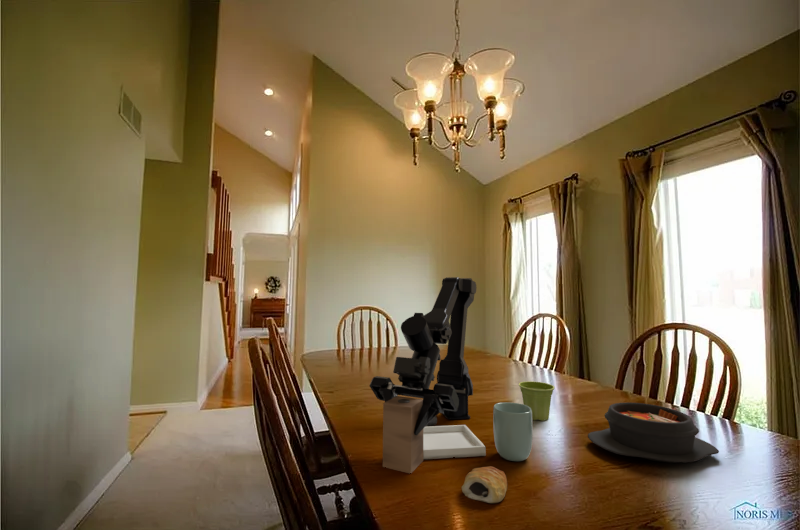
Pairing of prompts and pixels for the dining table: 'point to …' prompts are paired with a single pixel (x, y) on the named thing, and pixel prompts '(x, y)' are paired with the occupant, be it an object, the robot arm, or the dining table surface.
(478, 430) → the dining table surface
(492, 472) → the pastry
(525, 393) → the plant pot
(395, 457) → the block
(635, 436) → the casserole
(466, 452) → the tray
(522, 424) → the cup
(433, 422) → the flashlight
